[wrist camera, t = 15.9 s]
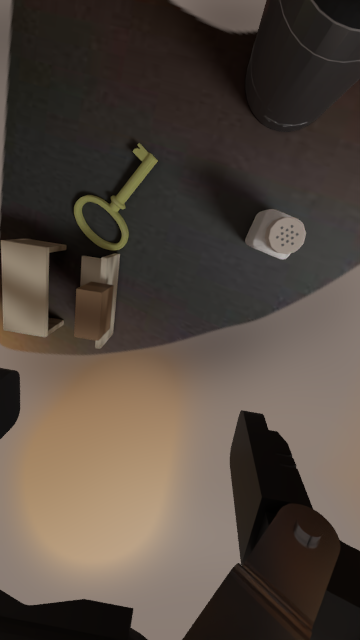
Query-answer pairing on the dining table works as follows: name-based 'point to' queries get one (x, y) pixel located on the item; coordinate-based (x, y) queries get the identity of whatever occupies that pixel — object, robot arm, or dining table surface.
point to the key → (116, 202)
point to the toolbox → (27, 286)
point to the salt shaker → (276, 233)
